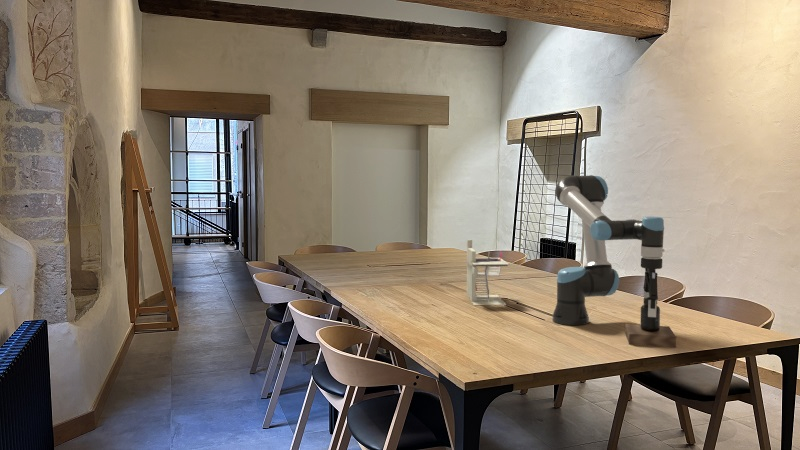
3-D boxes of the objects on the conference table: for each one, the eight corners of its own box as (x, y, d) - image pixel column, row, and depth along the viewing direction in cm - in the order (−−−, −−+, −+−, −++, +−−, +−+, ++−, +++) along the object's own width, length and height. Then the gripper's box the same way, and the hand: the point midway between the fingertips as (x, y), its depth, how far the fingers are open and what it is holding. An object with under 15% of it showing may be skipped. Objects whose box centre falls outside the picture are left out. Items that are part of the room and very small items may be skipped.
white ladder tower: (510, 305, 290) (511, 245, 288) (473, 305, 290) (474, 245, 288) (500, 294, 317) (500, 239, 315) (466, 295, 317) (467, 239, 315)
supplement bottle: (654, 327, 228) (655, 296, 228) (662, 331, 222) (664, 300, 221) (637, 327, 228) (637, 297, 227) (645, 332, 221) (646, 300, 220)
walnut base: (629, 344, 219) (629, 333, 219) (625, 333, 235) (625, 323, 234) (675, 347, 215) (676, 336, 215) (668, 336, 230) (669, 326, 230)
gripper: (667, 262, 210) (665, 321, 211) (657, 253, 234) (655, 306, 235) (645, 261, 212) (642, 319, 214) (637, 253, 236) (635, 305, 237)
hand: (649, 312), depth 224 cm, fingers open, 13 cm apart
